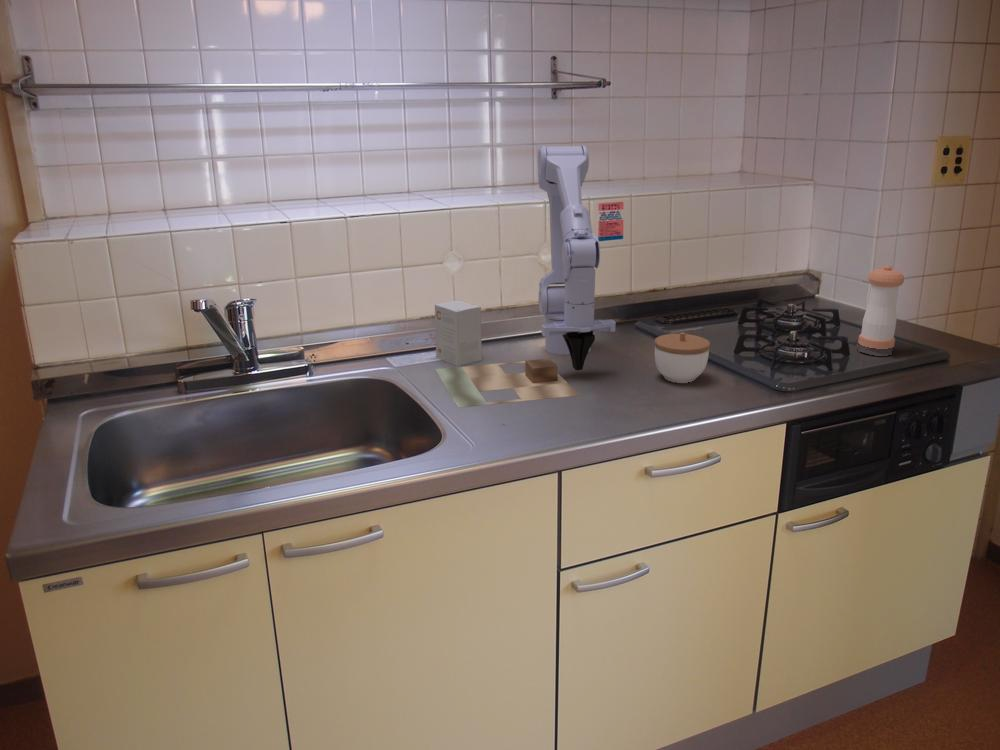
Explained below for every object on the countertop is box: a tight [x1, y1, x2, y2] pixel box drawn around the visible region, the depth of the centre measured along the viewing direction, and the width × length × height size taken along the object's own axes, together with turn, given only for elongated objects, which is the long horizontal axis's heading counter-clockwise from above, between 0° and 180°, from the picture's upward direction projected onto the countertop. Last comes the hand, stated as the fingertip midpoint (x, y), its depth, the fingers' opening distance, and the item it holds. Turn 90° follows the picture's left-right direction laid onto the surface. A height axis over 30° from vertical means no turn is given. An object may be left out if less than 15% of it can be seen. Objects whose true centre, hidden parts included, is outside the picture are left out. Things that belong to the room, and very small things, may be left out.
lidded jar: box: [654, 332, 711, 384], centre depth 162 cm, size 11×11×9 cm
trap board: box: [434, 360, 581, 409], centre depth 158 cm, size 23×22×2 cm
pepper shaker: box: [857, 265, 905, 349], centre depth 176 cm, size 7×7×19 cm
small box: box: [434, 299, 483, 367], centre depth 170 cm, size 8×6×13 cm
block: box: [524, 358, 559, 383], centre depth 159 cm, size 5×5×3 cm
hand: (577, 368), depth 161 cm, fingers closed
